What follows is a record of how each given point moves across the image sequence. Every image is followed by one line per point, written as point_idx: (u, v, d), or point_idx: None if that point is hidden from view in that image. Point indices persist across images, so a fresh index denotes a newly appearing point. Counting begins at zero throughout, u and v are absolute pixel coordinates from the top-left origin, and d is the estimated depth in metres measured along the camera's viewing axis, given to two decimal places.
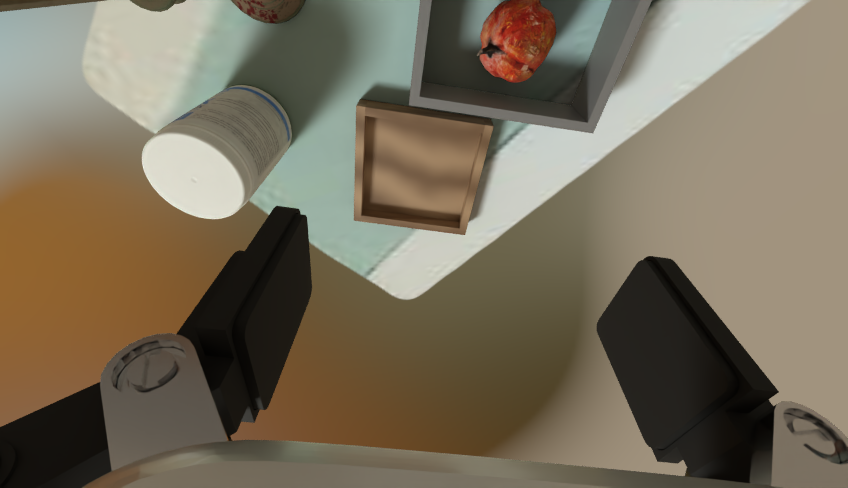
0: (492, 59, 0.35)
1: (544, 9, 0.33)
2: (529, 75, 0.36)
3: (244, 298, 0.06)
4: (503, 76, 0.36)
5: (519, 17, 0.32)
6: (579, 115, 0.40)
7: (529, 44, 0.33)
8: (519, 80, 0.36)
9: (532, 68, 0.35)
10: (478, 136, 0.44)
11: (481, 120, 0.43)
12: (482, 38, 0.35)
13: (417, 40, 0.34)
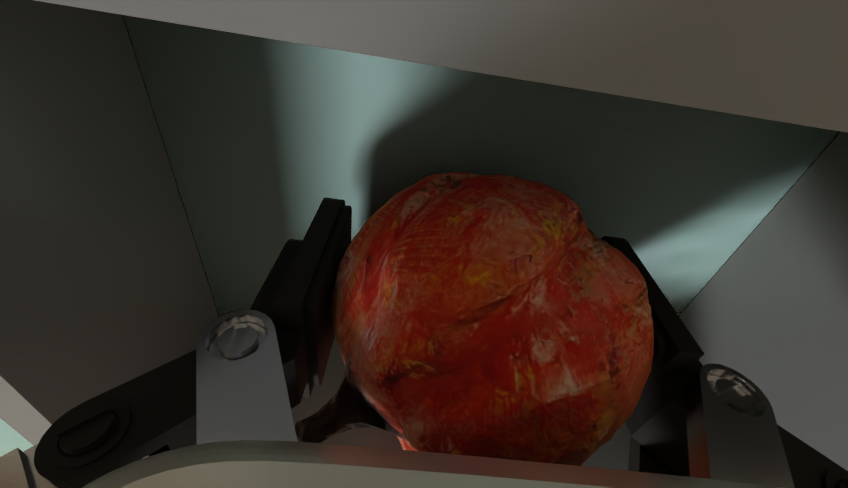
0: None
1: (608, 273, 0.06)
2: None
3: (311, 279, 0.07)
4: None
5: (475, 340, 0.06)
6: None
7: None
8: None
9: None
10: None
11: None
12: None
13: None
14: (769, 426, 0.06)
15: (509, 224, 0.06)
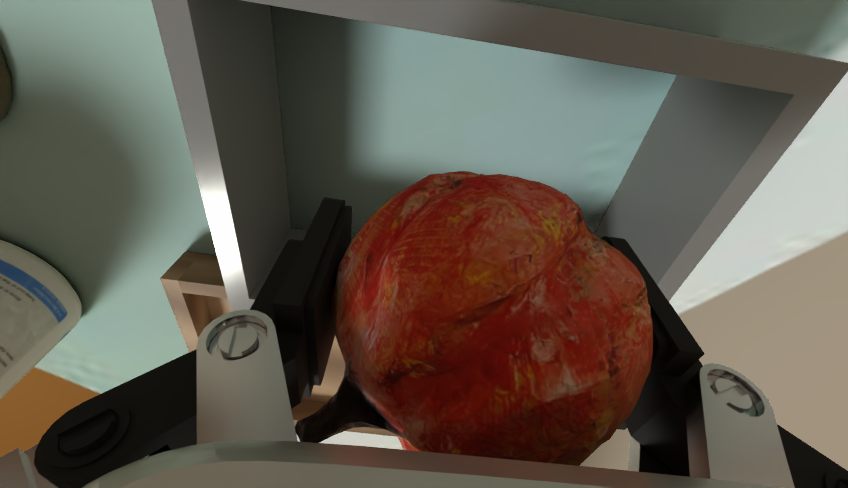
0: None
1: (607, 273, 0.06)
2: None
3: (311, 279, 0.07)
4: None
5: (475, 339, 0.06)
6: None
7: None
8: None
9: None
10: None
11: None
12: None
13: (208, 204, 0.14)
14: (769, 426, 0.06)
15: (509, 224, 0.06)
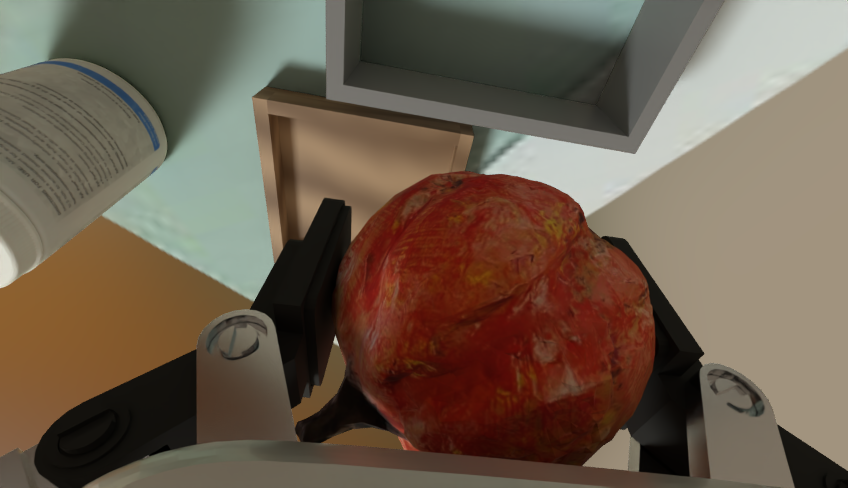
0: None
1: (609, 273, 0.06)
2: None
3: (311, 279, 0.07)
4: None
5: (477, 340, 0.06)
6: (612, 123, 0.24)
7: None
8: None
9: None
10: (451, 149, 0.29)
11: (455, 126, 0.27)
12: None
13: None
14: (769, 426, 0.06)
15: (510, 223, 0.06)
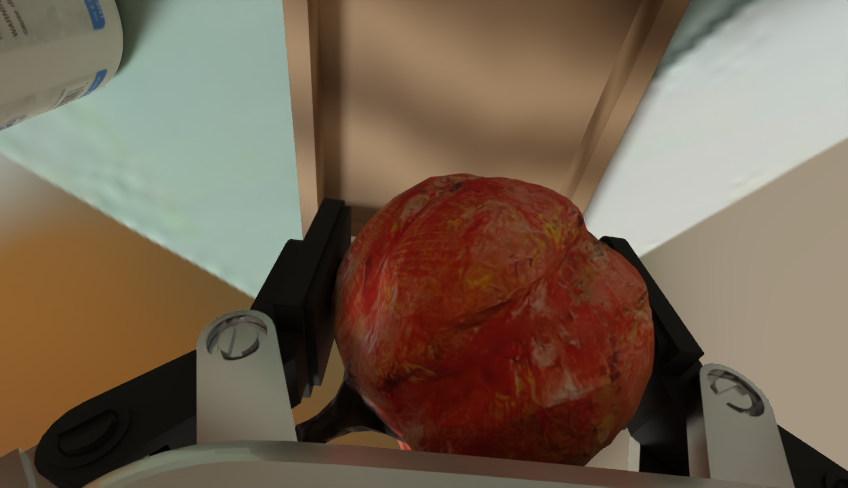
0: None
1: (608, 276, 0.06)
2: None
3: (311, 279, 0.07)
4: None
5: (476, 344, 0.06)
6: None
7: None
8: None
9: None
10: (629, 18, 0.16)
11: None
12: None
13: None
14: (769, 426, 0.06)
15: (509, 227, 0.06)
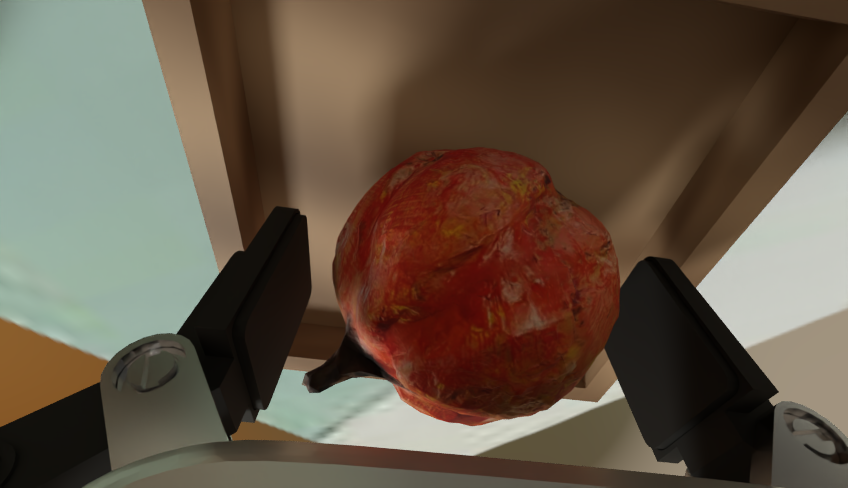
0: None
1: (571, 226, 0.07)
2: None
3: (244, 298, 0.06)
4: None
5: (452, 285, 0.07)
6: None
7: (506, 400, 0.07)
8: None
9: None
10: (760, 64, 0.09)
11: None
12: None
13: None
14: None
15: (480, 185, 0.07)
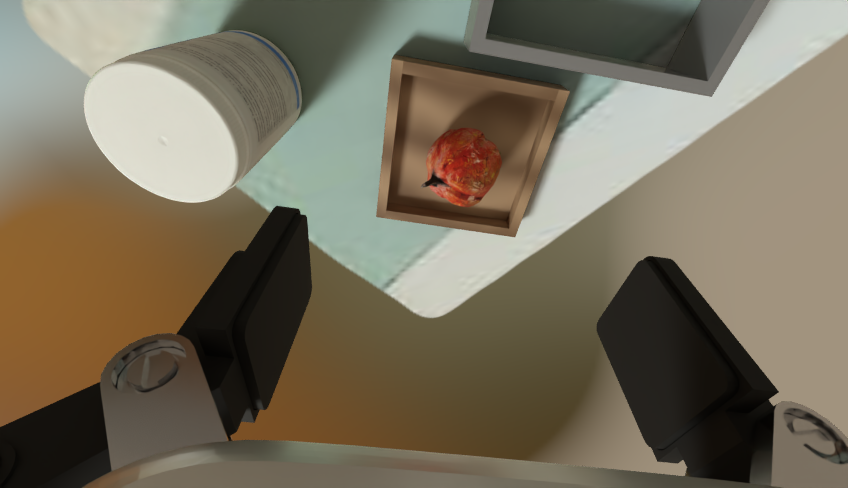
0: (438, 188, 0.34)
1: (487, 143, 0.32)
2: (477, 202, 0.34)
3: (244, 298, 0.06)
4: (451, 202, 0.35)
5: (460, 154, 0.31)
6: (688, 75, 0.30)
7: (472, 180, 0.31)
8: (468, 206, 0.35)
9: (479, 197, 0.34)
10: (543, 107, 0.34)
11: (551, 85, 0.33)
12: (427, 167, 0.34)
13: None
14: None
15: (466, 134, 0.32)
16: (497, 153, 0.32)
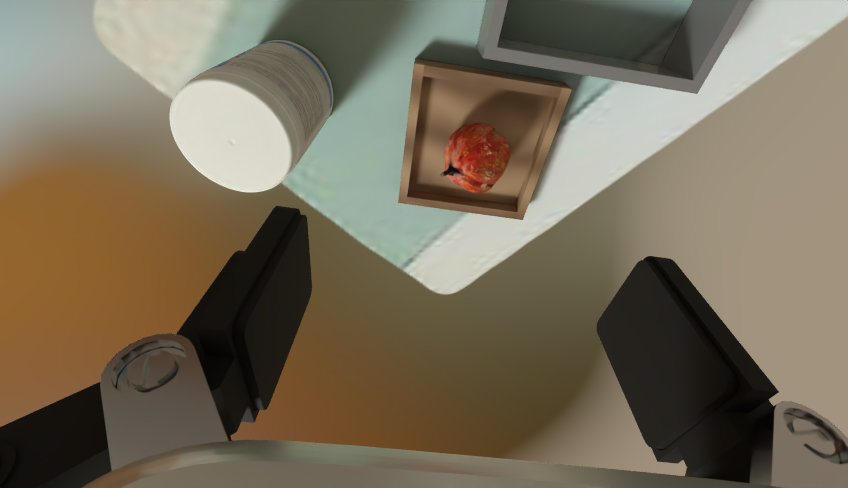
0: (454, 177, 0.39)
1: (497, 137, 0.36)
2: (489, 189, 0.39)
3: (244, 298, 0.06)
4: (466, 189, 0.39)
5: (474, 147, 0.36)
6: (677, 74, 0.34)
7: (485, 170, 0.36)
8: (480, 192, 0.39)
9: (491, 184, 0.38)
10: (548, 103, 0.39)
11: (555, 83, 0.37)
12: (444, 158, 0.39)
13: None
14: None
15: (480, 129, 0.36)
16: (507, 145, 0.37)
